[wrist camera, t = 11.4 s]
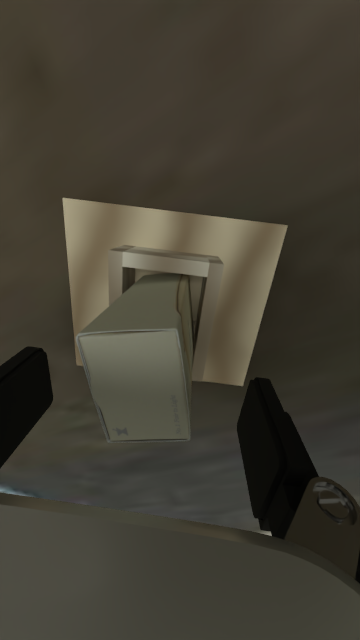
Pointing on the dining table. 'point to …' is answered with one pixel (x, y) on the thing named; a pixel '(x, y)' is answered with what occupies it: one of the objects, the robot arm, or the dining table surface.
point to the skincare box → (143, 361)
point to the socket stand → (177, 257)
